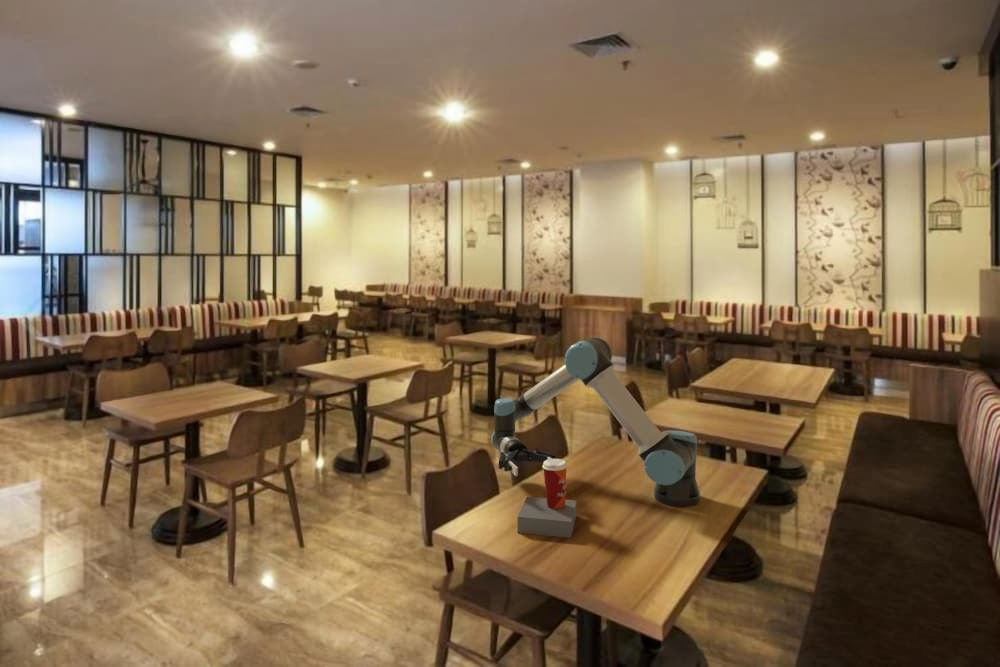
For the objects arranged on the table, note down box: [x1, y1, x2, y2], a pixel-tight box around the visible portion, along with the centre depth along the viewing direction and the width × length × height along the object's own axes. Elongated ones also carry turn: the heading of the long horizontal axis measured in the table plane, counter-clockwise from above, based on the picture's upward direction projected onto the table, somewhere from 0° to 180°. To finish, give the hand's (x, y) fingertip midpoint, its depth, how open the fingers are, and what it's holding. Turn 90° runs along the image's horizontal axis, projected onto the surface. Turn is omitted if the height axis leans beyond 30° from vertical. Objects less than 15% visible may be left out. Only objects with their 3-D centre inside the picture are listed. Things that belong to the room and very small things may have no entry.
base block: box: [517, 496, 578, 539], centre depth 194 cm, size 16×16×5 cm
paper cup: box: [542, 458, 568, 509], centre depth 195 cm, size 8×8×14 cm
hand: (536, 469), depth 201 cm, fingers open, 13 cm apart
